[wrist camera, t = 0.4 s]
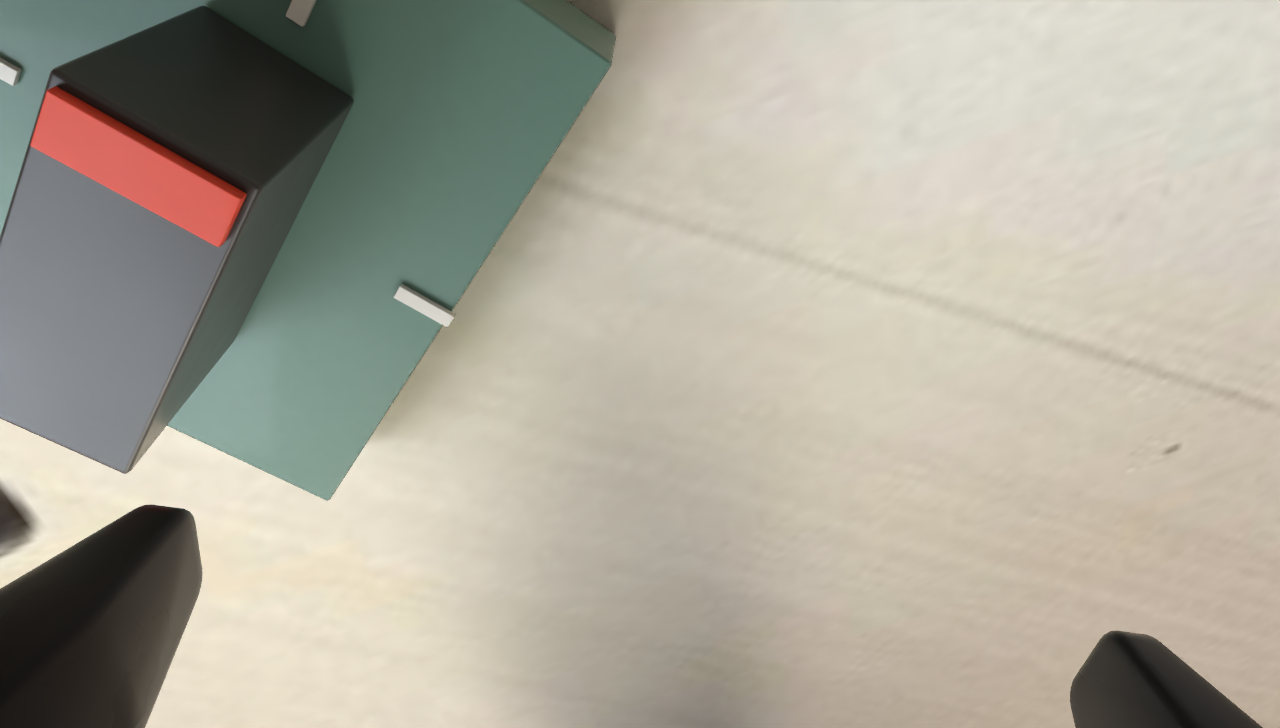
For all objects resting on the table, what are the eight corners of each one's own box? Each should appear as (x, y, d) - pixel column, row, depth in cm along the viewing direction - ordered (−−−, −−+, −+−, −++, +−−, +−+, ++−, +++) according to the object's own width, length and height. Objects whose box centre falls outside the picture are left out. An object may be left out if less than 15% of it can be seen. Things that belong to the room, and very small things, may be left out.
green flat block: (358, 447, 26) (329, 508, 23) (-43, 249, 22) (-120, 297, 20) (621, 38, 19) (616, 68, 17) (116, -321, 16) (28, -343, 14)
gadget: (234, 341, 21) (120, 484, 16) (99, 272, 20) (-61, 405, 15) (356, 98, 18) (256, 194, 13) (202, 2, 17) (38, 70, 12)
